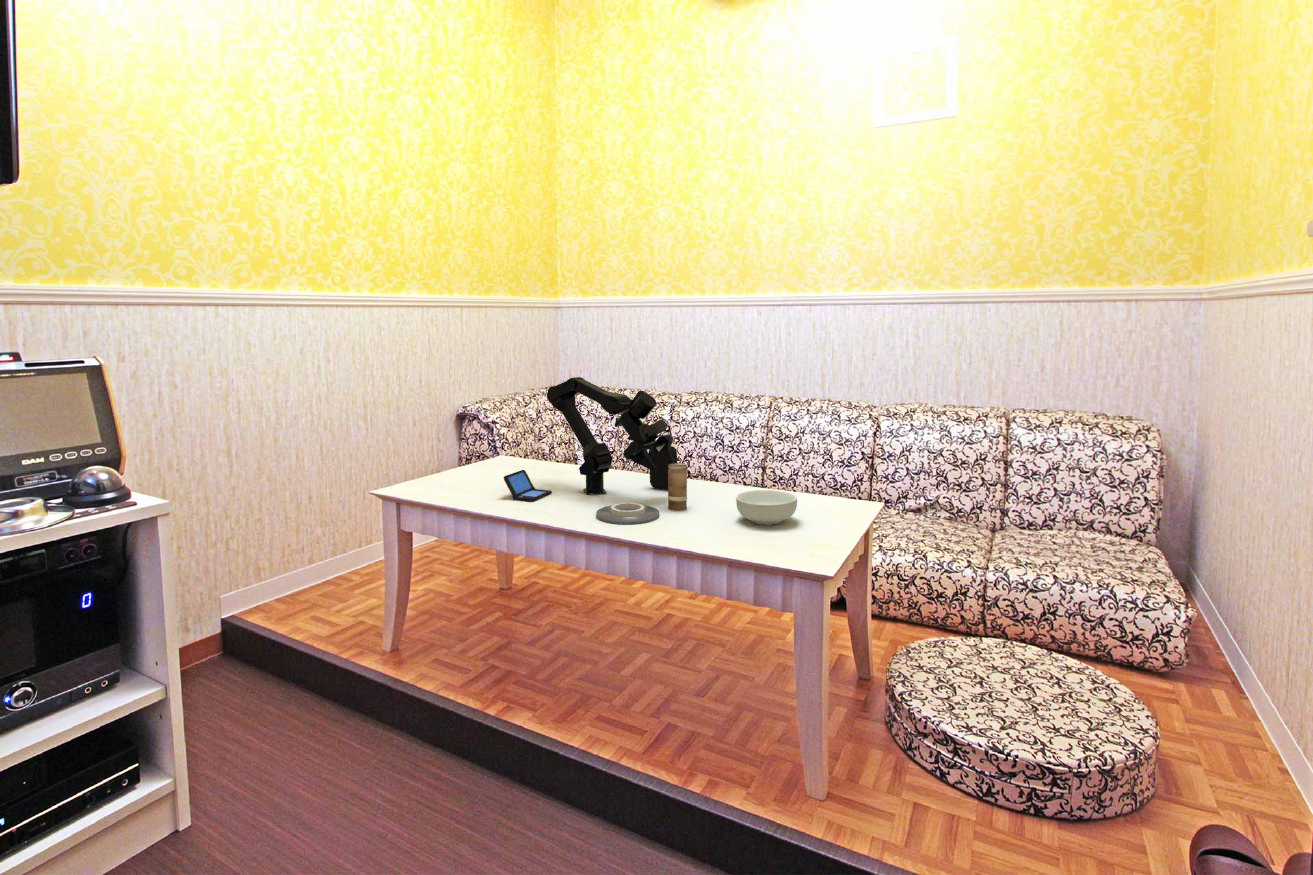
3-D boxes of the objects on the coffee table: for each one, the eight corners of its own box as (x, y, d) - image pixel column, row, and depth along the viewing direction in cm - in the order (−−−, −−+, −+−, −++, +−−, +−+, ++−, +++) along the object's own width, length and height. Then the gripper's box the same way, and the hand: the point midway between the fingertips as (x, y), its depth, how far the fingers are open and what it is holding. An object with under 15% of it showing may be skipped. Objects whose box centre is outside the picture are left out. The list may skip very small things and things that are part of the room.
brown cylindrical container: (665, 506, 217) (665, 464, 214) (683, 505, 218) (683, 463, 216) (671, 511, 211) (671, 467, 209) (689, 510, 213) (689, 466, 211)
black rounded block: (645, 488, 239) (645, 444, 237) (649, 486, 242) (649, 443, 239) (674, 492, 234) (674, 447, 232) (678, 490, 237) (678, 445, 234)
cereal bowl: (756, 509, 213) (756, 486, 212) (807, 519, 203) (808, 495, 202) (723, 522, 201) (724, 497, 199) (776, 533, 190) (777, 507, 189)
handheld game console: (533, 503, 221) (532, 479, 220) (503, 500, 225) (502, 476, 224) (553, 493, 233) (553, 471, 231) (524, 491, 237) (523, 468, 235)
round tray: (591, 509, 213) (590, 501, 212) (650, 505, 218) (650, 497, 217) (602, 526, 196) (602, 517, 195) (666, 521, 200) (666, 513, 200)
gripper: (630, 414, 209) (661, 456, 204) (668, 408, 223) (698, 447, 219) (610, 439, 214) (640, 480, 210) (648, 431, 229) (677, 469, 225)
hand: (664, 468), depth 216 cm, fingers open, 9 cm apart
